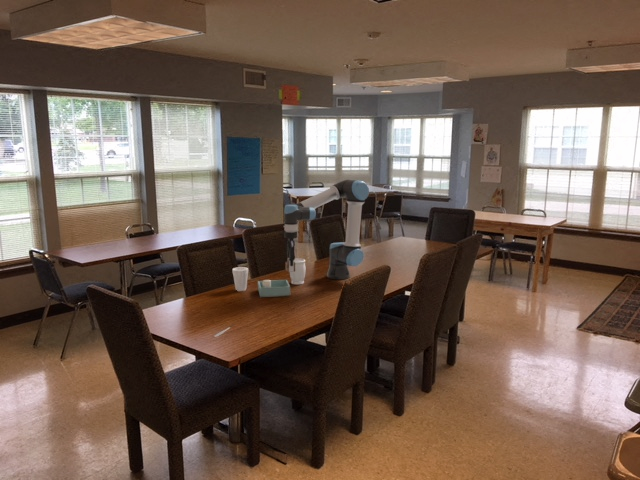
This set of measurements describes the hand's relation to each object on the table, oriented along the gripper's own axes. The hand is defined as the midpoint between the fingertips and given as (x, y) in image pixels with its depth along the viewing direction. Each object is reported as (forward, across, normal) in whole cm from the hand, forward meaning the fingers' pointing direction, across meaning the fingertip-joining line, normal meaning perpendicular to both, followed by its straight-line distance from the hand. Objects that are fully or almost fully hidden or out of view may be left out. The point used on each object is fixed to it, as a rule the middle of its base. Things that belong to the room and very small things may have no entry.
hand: (290, 269), depth 301 cm
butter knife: (+15, +52, -38) cm, 66 cm away
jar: (+14, -19, +8) cm, 25 cm away
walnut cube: (0, 0, 0) cm, 0 cm away
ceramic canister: (+13, -1, -14) cm, 19 cm away
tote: (+14, -1, -10) cm, 17 cm away
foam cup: (+14, -12, -29) cm, 34 cm away
